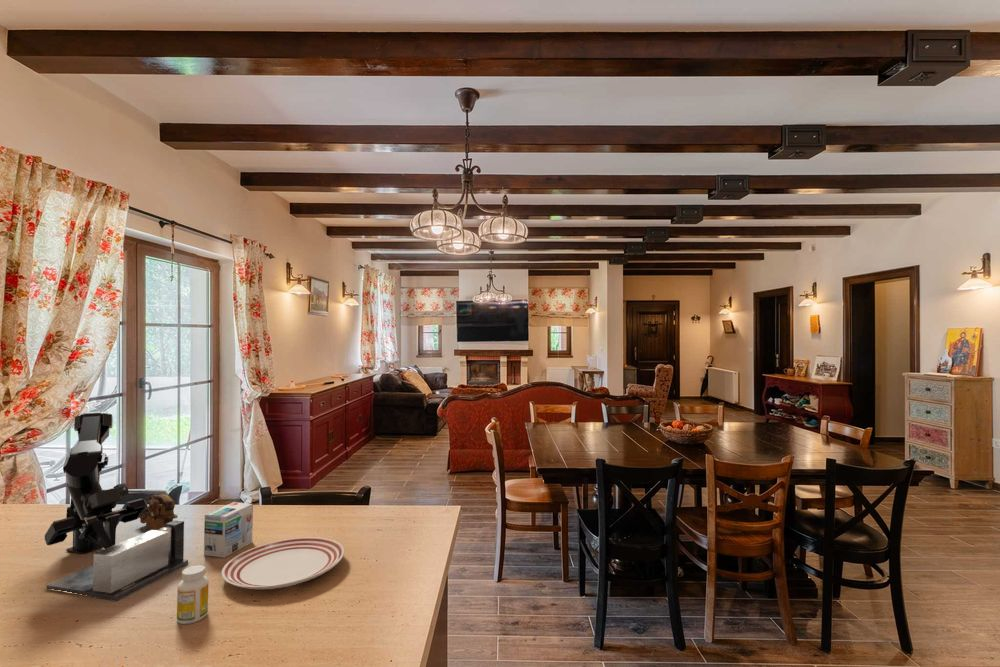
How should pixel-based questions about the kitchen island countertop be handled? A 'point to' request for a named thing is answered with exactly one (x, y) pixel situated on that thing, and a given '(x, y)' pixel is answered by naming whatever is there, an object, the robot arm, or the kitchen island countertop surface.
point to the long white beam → (131, 560)
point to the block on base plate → (84, 582)
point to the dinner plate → (283, 563)
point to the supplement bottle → (192, 595)
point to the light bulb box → (228, 529)
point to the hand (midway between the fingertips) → (112, 550)
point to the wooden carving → (158, 512)
